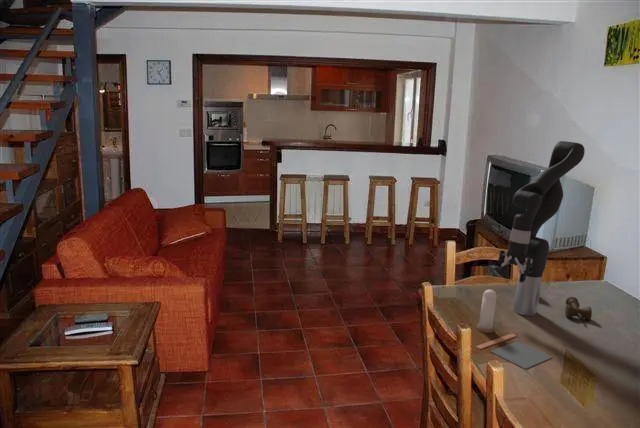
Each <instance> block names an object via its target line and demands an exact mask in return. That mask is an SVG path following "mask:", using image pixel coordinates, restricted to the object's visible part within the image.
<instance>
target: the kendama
mask: <svg viewBox="0 0 640 428" xmlns="http://www.w3.org/2000/svg"><path fill="white" fill-rule="evenodd" d="M565 305H566V306H565V310H564V313H565V314H564V316H565V317H566V318H568V319H569V318H572V317H579V318H580V319H582V318H583V319H584V320H586V321H588V322H590V321H591V320H592V315H593V313H592V312H593V311H592V307H591V306H586V307H584V308H580V303H579V300H578V298H576V297H575V296H569V297H567V298H566V301H565Z"/></svg>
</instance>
